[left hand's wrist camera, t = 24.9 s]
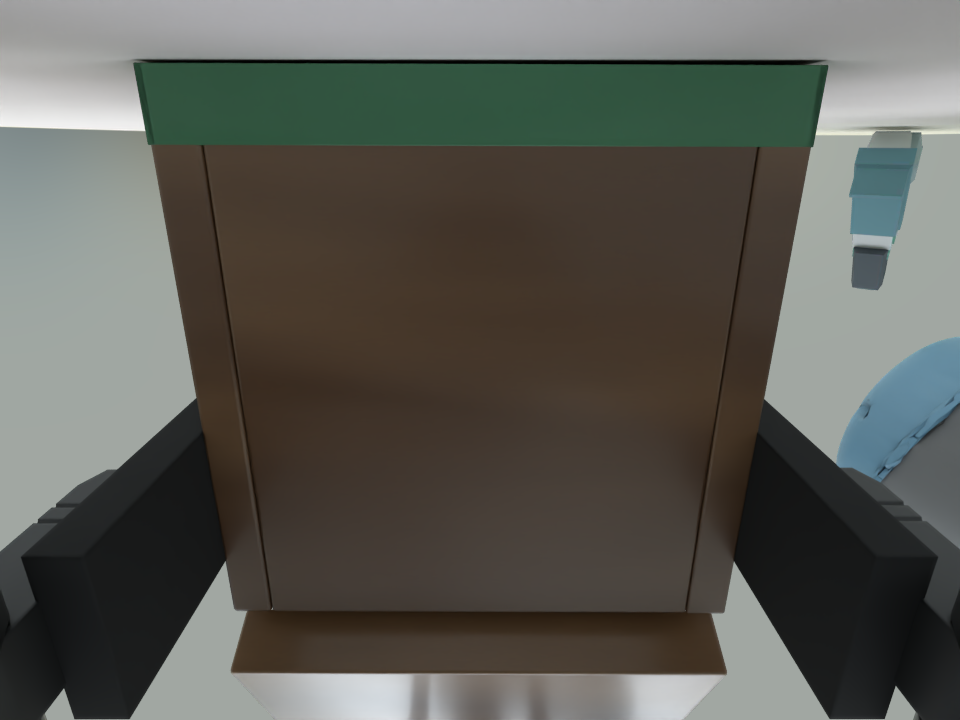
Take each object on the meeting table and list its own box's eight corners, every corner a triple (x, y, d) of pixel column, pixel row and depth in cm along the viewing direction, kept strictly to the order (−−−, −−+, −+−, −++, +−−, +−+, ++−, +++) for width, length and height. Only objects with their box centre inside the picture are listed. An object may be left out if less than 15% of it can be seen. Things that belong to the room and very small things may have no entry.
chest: (602, 116, 23) (586, 347, 27) (359, 116, 23) (373, 346, 27) (829, 65, 8) (726, 614, 11) (132, 62, 8) (232, 612, 11)
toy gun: (865, 202, 58) (840, 295, 57) (878, 68, 42) (844, 192, 41) (910, 204, 56) (885, 301, 55) (941, 64, 40) (907, 195, 39)
